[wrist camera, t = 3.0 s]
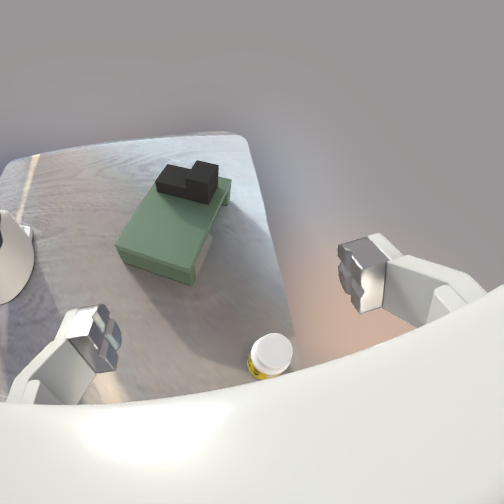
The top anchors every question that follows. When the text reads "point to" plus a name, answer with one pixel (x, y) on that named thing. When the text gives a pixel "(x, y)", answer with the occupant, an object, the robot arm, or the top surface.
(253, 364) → the supplement bottle
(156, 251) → the block
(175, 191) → the dark stepped block
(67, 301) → the top surface
